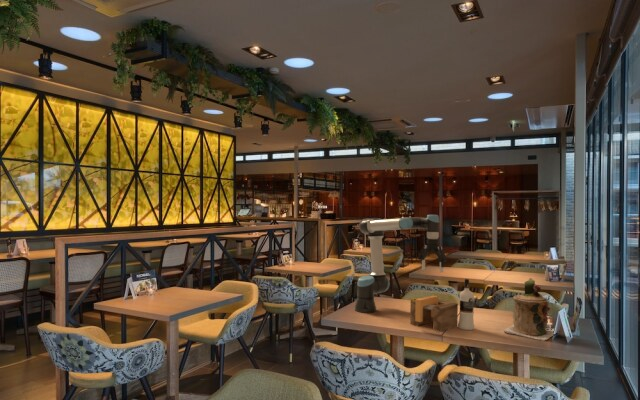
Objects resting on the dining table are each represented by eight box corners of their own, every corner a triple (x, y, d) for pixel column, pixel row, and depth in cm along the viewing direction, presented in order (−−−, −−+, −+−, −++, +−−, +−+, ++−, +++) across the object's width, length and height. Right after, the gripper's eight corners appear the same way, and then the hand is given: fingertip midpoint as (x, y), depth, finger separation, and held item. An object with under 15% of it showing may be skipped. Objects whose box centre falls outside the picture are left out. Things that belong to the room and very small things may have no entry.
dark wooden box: (410, 324, 288) (410, 301, 288) (427, 319, 300) (427, 298, 301) (441, 331, 272) (441, 307, 272) (457, 326, 284) (457, 303, 284)
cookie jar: (502, 333, 271) (502, 278, 272) (516, 325, 290) (517, 274, 290) (547, 341, 255) (547, 284, 255) (559, 333, 273) (559, 279, 274)
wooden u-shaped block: (415, 321, 276) (415, 299, 276) (433, 316, 289) (433, 295, 289) (420, 322, 273) (420, 300, 274) (438, 317, 286) (438, 296, 286)
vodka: (469, 326, 285) (469, 277, 286) (477, 330, 276) (478, 280, 277) (455, 326, 283) (456, 278, 284) (463, 331, 274) (464, 280, 275)
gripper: (413, 237, 307) (413, 269, 307) (446, 239, 289) (445, 273, 289) (420, 236, 313) (419, 268, 312) (452, 239, 294) (452, 272, 294)
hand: (432, 271), depth 301 cm, fingers open, 13 cm apart
